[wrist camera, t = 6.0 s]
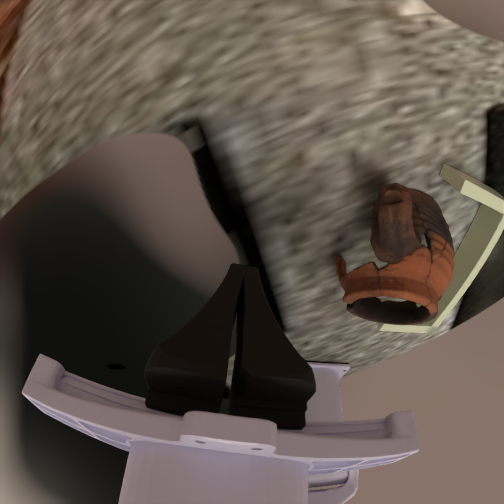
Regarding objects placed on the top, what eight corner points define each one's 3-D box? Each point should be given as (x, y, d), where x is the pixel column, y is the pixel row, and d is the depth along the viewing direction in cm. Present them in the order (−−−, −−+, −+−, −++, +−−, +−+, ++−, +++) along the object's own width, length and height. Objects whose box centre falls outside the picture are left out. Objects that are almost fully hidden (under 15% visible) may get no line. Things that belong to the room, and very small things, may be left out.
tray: (423, 311, 25) (432, 332, 23) (371, 306, 25) (379, 330, 22) (494, 189, 16) (514, 207, 14) (443, 163, 16) (465, 179, 13)
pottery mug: (450, 243, 20) (449, 331, 17) (360, 246, 26) (346, 326, 23) (442, 137, 12) (463, 257, 9) (310, 158, 18) (282, 261, 15)
